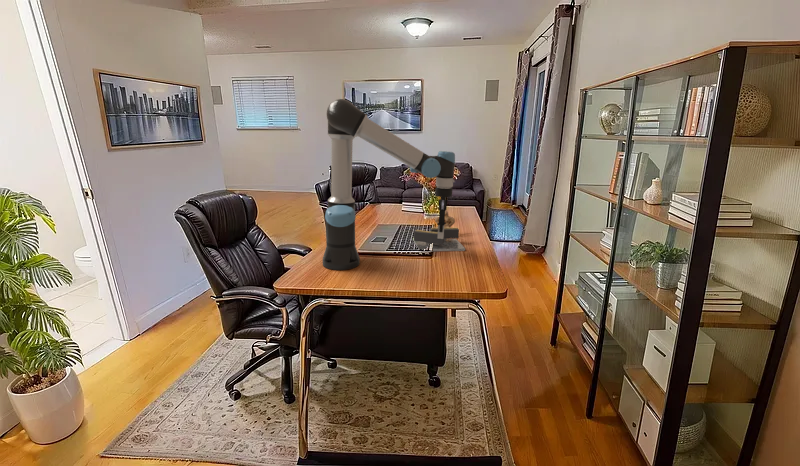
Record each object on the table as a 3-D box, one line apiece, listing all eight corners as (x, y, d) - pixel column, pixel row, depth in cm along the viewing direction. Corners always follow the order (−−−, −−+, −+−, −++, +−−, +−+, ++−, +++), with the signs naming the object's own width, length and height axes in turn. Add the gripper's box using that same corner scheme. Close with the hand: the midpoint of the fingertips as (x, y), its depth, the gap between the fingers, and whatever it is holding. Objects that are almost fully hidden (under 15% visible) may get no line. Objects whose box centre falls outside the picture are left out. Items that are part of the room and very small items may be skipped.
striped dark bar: (442, 246, 176) (442, 234, 174) (413, 242, 180) (414, 230, 178) (443, 244, 179) (444, 232, 177) (415, 240, 183) (416, 229, 181)
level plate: (417, 251, 172) (417, 247, 172) (412, 241, 188) (412, 237, 187) (465, 250, 175) (465, 246, 175) (455, 240, 190) (456, 236, 190)
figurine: (431, 237, 196) (433, 208, 197) (435, 238, 205) (436, 211, 206) (452, 238, 193) (453, 209, 194) (454, 239, 202) (456, 211, 203)
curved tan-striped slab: (458, 240, 186) (459, 228, 184) (430, 240, 184) (431, 228, 183) (456, 238, 189) (457, 226, 187) (429, 238, 187) (429, 227, 186)
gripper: (452, 189, 159) (448, 243, 165) (452, 185, 171) (448, 235, 177) (435, 188, 159) (431, 241, 166) (436, 184, 172) (432, 233, 178)
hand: (440, 238), depth 171 cm, fingers closed
